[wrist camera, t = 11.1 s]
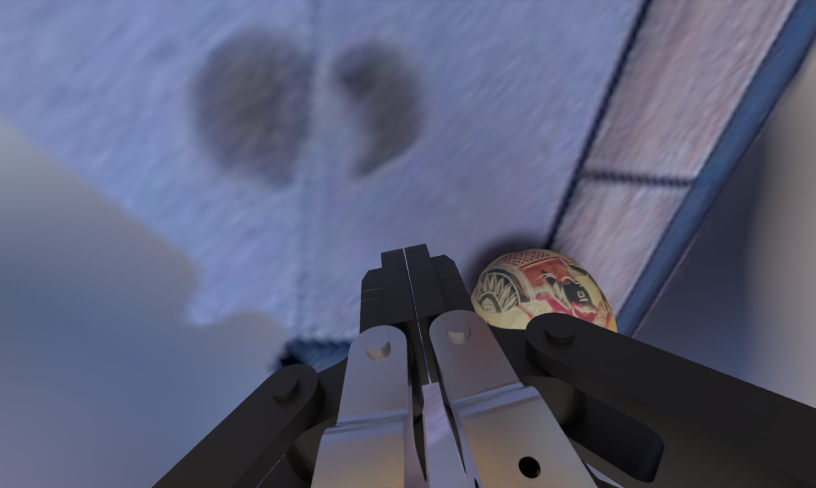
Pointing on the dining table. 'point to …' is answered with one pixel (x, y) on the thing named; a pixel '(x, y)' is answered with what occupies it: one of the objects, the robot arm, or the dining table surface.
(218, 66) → the dining table surface
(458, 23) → the dining table surface
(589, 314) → the ceramic jug
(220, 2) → the dining table surface
